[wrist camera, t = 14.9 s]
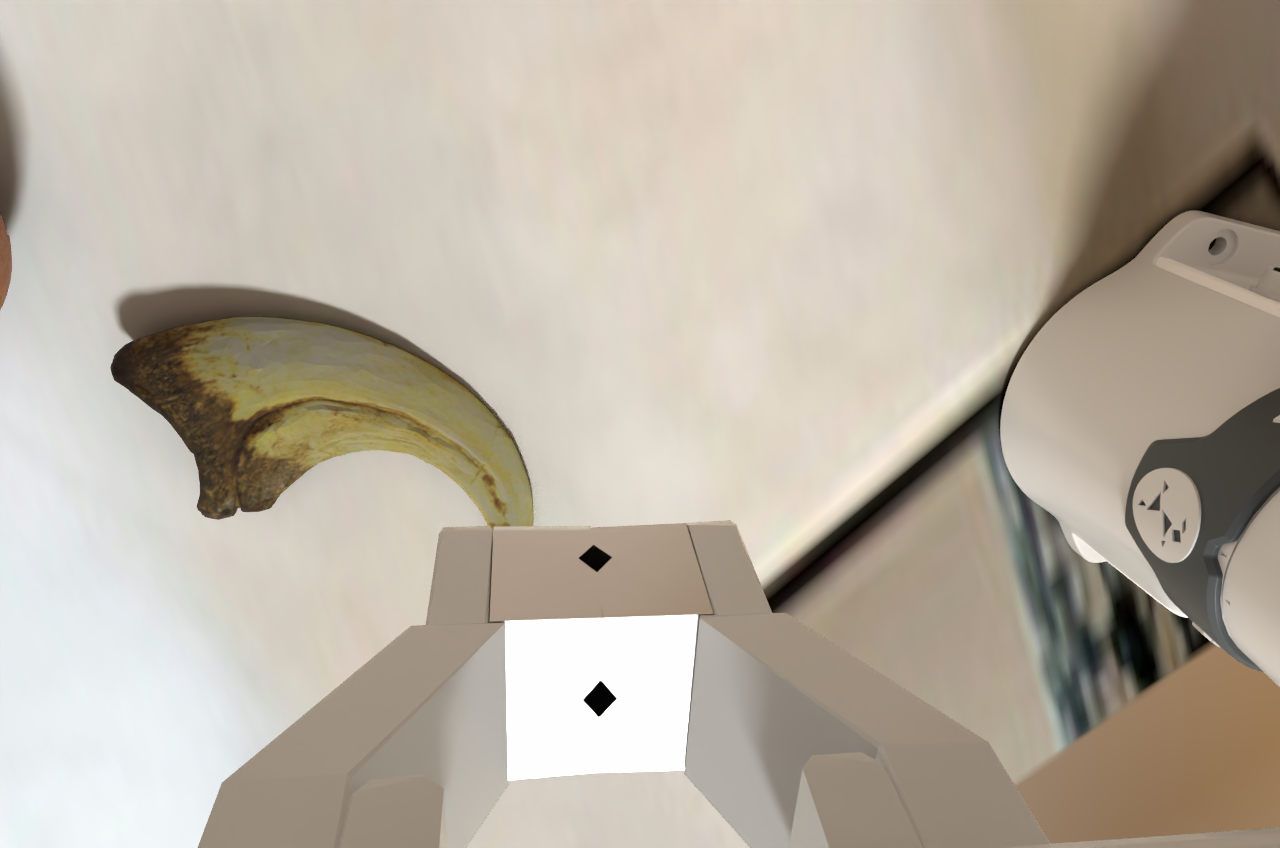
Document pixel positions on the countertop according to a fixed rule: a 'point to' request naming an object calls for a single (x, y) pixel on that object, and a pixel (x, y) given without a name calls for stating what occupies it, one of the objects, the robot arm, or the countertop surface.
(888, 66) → the countertop surface
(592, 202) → the countertop surface
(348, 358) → the claw
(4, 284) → the onion
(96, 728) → the countertop surface
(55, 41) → the countertop surface
